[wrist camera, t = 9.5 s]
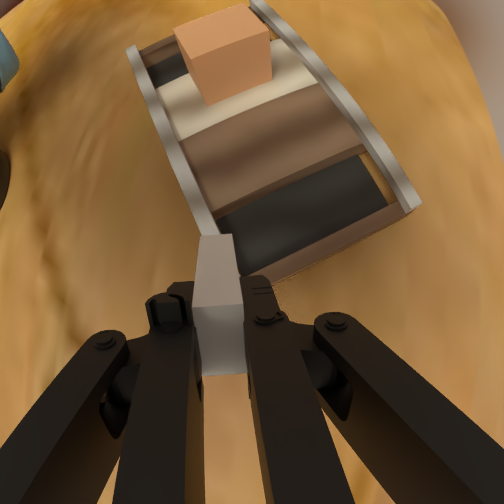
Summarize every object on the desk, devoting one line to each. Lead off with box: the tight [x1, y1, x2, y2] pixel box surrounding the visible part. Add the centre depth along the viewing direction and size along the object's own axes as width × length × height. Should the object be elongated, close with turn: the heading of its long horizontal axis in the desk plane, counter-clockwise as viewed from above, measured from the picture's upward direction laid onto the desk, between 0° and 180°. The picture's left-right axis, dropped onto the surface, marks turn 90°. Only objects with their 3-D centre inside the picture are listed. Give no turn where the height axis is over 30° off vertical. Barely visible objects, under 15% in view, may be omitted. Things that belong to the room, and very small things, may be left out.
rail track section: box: [125, 0, 422, 286], centre depth 34 cm, size 36×20×4 cm, turn 26°
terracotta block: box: [172, 3, 272, 107], centre depth 30 cm, size 6×8×8 cm
